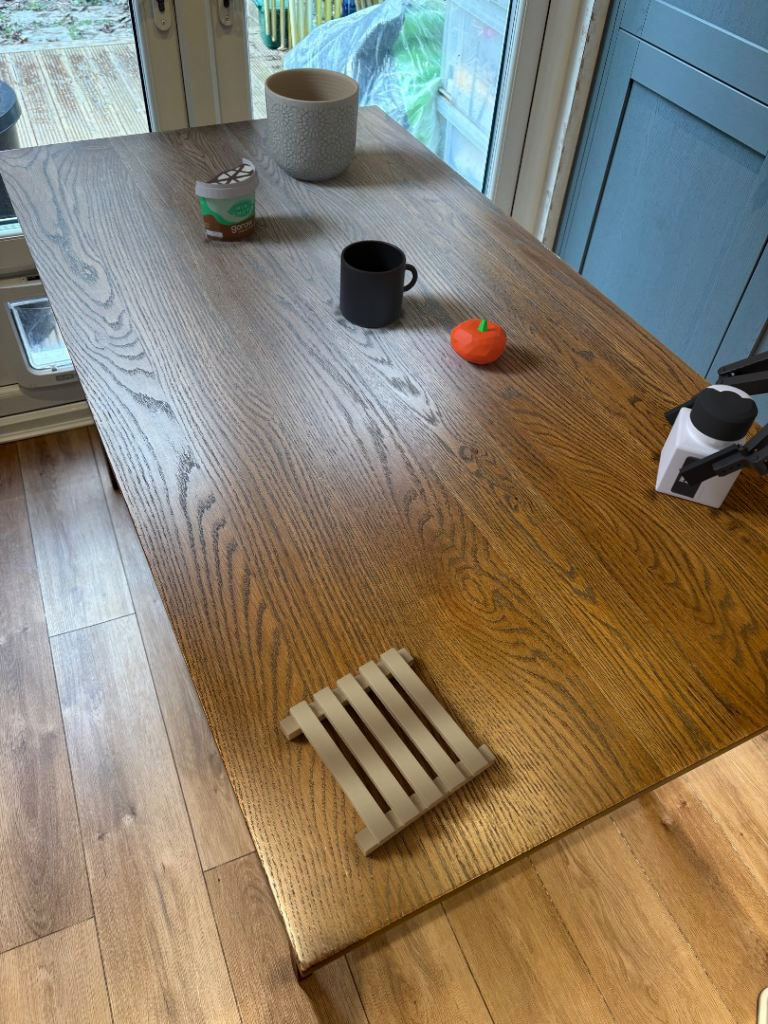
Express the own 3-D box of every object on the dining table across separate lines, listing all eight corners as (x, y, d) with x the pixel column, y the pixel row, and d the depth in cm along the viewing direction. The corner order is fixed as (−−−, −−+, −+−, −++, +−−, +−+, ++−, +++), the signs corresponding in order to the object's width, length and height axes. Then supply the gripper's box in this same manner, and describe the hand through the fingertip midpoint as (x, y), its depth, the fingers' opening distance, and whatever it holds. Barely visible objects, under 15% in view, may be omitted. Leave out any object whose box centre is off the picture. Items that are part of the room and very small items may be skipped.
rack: (495, 765, 67) (499, 755, 65) (366, 859, 61) (367, 850, 59) (402, 651, 74) (403, 640, 73) (278, 725, 68) (277, 715, 67)
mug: (426, 320, 113) (433, 265, 106) (351, 333, 110) (353, 277, 103) (403, 287, 119) (408, 234, 112) (331, 298, 116) (332, 244, 109)
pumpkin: (451, 338, 110) (457, 299, 106) (505, 347, 110) (513, 309, 105) (444, 366, 106) (449, 328, 101) (500, 376, 105) (508, 337, 100)
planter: (264, 187, 140) (259, 98, 128) (273, 149, 151) (269, 64, 139) (355, 192, 140) (358, 104, 129) (357, 154, 152) (360, 70, 140)
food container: (229, 253, 123) (223, 193, 116) (201, 241, 125) (193, 181, 118) (276, 225, 130) (274, 167, 123) (249, 214, 132) (245, 156, 125)
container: (719, 510, 90) (766, 428, 80) (654, 491, 91) (693, 409, 82) (722, 468, 95) (767, 387, 85) (660, 451, 96) (698, 369, 87)
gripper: (937, 443, 72) (710, 534, 84) (858, 316, 87) (674, 409, 99) (915, 395, 68) (679, 497, 80) (835, 270, 83) (646, 372, 95)
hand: (676, 448), depth 89 cm, fingers closed on container, 9 cm apart
